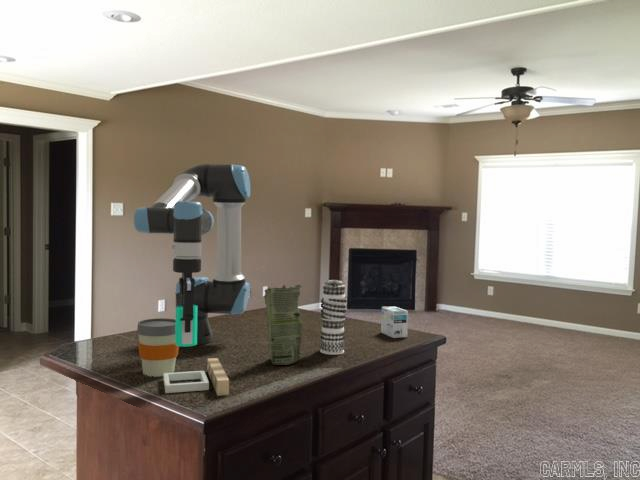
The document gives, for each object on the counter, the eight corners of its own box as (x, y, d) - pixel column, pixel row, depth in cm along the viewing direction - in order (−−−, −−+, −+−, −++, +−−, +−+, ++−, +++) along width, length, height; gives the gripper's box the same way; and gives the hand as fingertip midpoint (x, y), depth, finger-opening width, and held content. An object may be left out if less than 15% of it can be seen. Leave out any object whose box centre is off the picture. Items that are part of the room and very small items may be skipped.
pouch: (261, 365, 176) (263, 286, 174) (270, 355, 187) (271, 281, 186) (296, 367, 174) (298, 288, 173) (302, 357, 186) (304, 283, 184)
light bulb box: (408, 337, 219) (408, 310, 219) (393, 338, 217) (393, 311, 216) (394, 331, 229) (395, 305, 229) (380, 332, 227) (381, 306, 226)
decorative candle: (350, 351, 196) (352, 280, 194) (336, 356, 188) (338, 283, 187) (328, 346, 201) (330, 278, 199) (314, 351, 193) (316, 280, 192)
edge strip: (207, 371, 167) (207, 358, 167) (217, 371, 168) (217, 358, 168) (217, 395, 146) (217, 380, 146) (228, 394, 147) (229, 380, 147)
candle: (199, 341, 156) (199, 299, 156) (194, 346, 150) (195, 302, 150) (177, 341, 156) (178, 298, 156) (172, 346, 150) (173, 302, 150)
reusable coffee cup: (188, 372, 166) (189, 322, 165) (151, 381, 157) (151, 328, 156) (165, 363, 174) (165, 316, 174) (128, 371, 165) (128, 321, 164)
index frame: (163, 380, 158) (163, 373, 158) (204, 377, 162) (204, 370, 162) (165, 393, 147) (165, 385, 147) (208, 389, 151) (209, 382, 151)
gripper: (171, 254, 160) (170, 334, 161) (175, 260, 142) (174, 350, 144) (197, 254, 162) (196, 333, 163) (205, 260, 145) (203, 348, 146)
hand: (186, 341), depth 154 cm, fingers closed on candle, 5 cm apart
